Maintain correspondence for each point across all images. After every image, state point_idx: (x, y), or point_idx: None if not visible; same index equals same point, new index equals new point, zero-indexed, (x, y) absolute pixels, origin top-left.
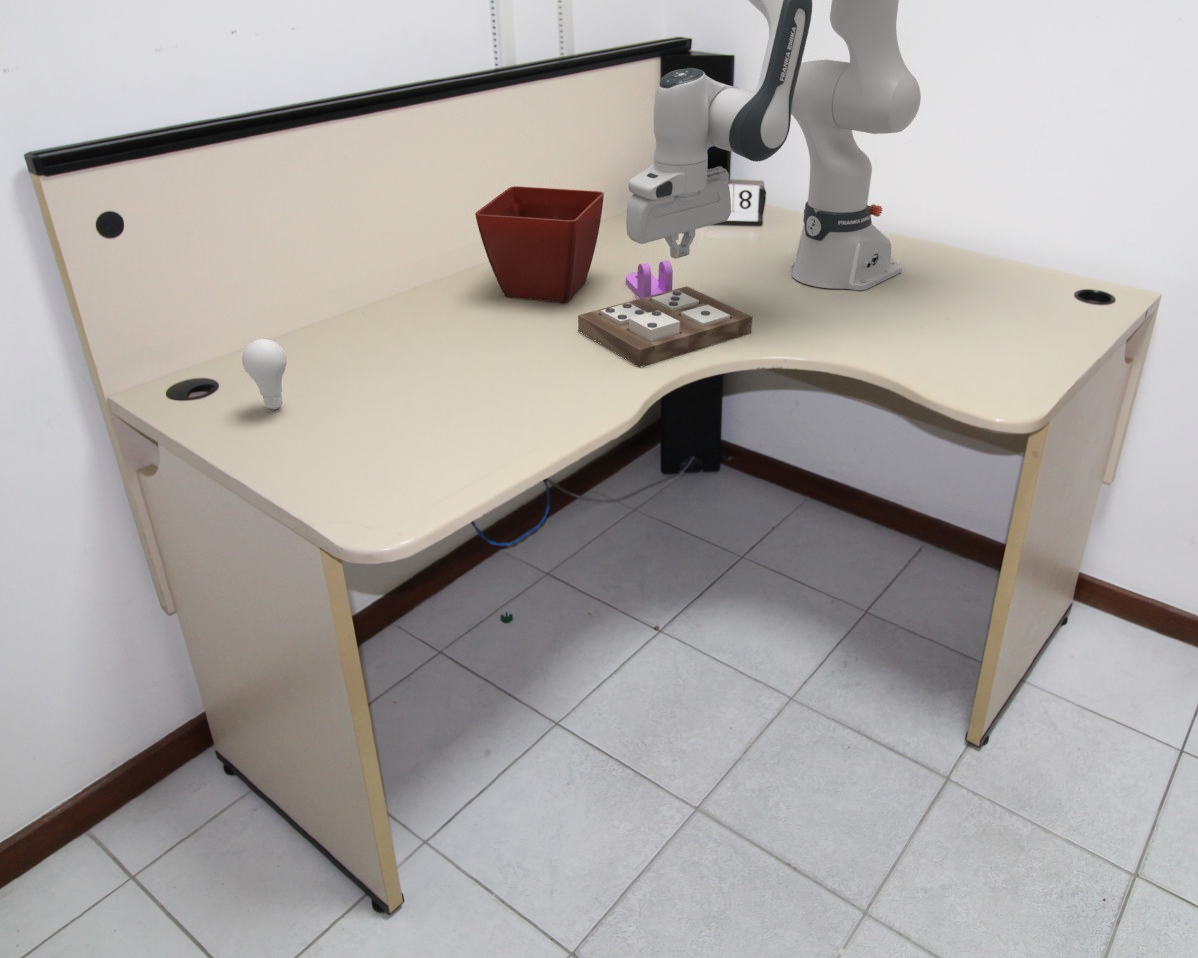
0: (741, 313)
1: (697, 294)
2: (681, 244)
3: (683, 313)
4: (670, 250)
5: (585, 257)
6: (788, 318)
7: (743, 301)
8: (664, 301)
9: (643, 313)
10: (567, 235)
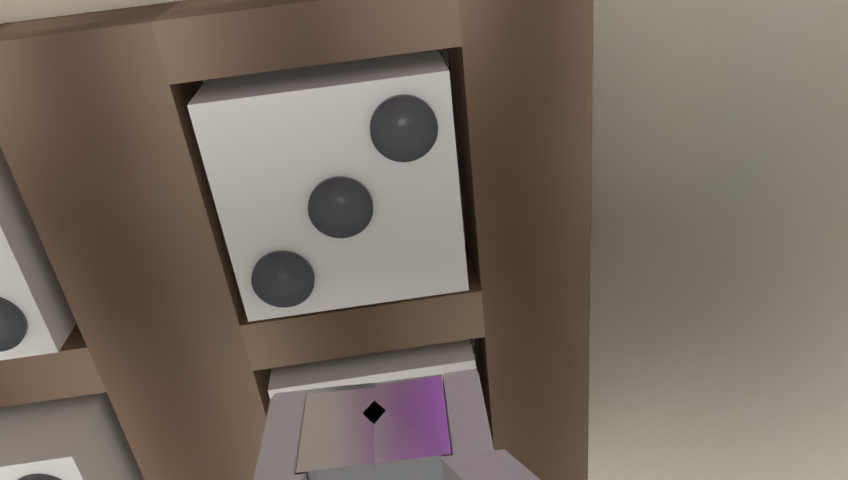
0: (569, 472)
1: (551, 154)
2: (441, 475)
3: None
4: (262, 445)
5: None
6: (811, 390)
7: (837, 127)
8: (247, 213)
9: (17, 343)
10: None
